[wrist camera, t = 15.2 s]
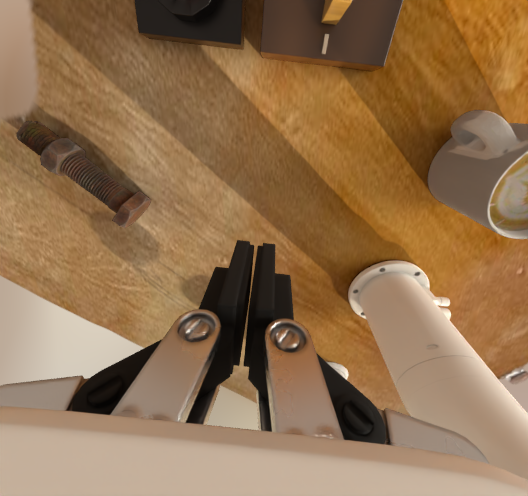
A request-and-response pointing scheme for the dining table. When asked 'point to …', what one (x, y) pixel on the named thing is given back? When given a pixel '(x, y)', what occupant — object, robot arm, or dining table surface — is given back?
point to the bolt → (82, 171)
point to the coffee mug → (485, 172)
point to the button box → (193, 21)
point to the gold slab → (334, 10)
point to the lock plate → (329, 33)
